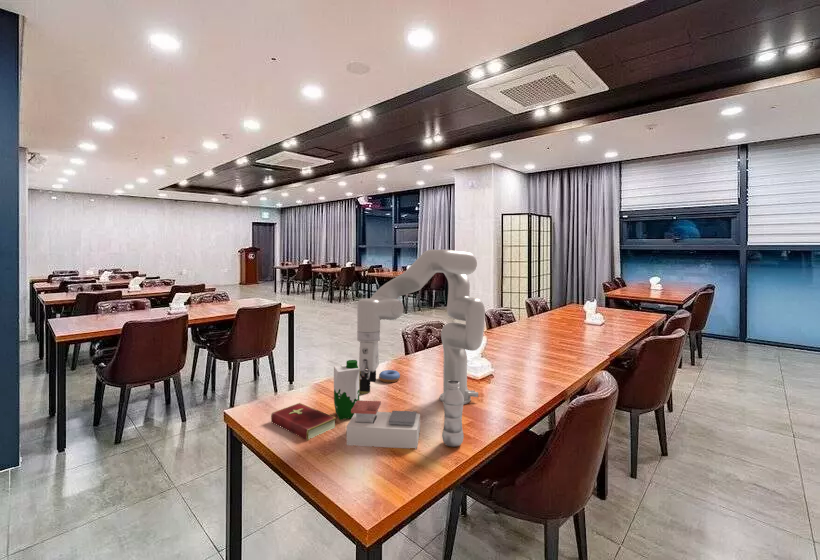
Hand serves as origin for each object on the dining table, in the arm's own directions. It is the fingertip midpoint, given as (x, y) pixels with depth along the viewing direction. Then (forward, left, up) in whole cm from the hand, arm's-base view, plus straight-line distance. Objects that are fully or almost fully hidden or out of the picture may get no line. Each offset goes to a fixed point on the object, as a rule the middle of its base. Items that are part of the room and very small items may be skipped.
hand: (368, 386), depth 129 cm
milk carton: (+11, -11, -16) cm, 22 cm away
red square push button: (0, +5, -11) cm, 12 cm away
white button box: (-6, +5, -15) cm, 17 cm away
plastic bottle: (-28, +7, -16) cm, 33 cm away
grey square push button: (-12, +5, -14) cm, 19 cm away
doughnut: (+1, -52, -16) cm, 54 cm away
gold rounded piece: (+11, -35, -16) cm, 40 cm away
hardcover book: (+24, -2, -16) cm, 28 cm away
